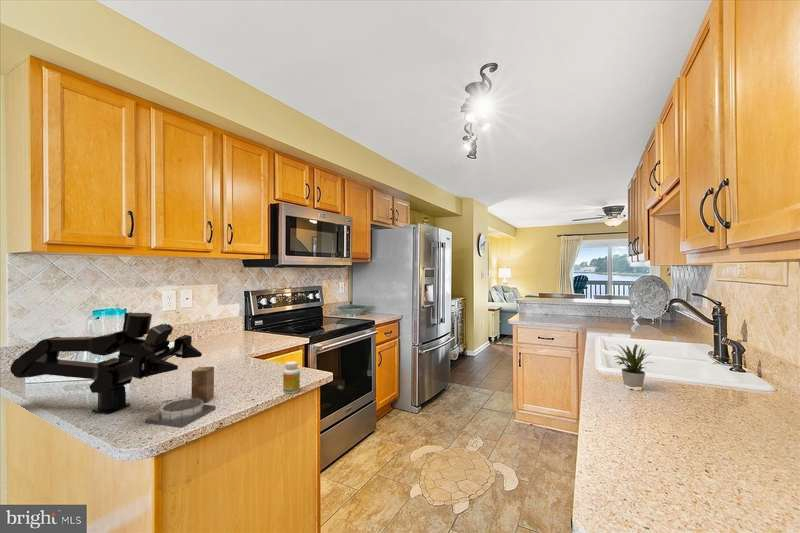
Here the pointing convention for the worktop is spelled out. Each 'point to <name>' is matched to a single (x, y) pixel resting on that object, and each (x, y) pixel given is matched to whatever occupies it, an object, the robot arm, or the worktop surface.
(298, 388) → the supplement bottle
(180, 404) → the duct collar
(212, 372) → the upright wooden block
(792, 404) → the worktop surface
